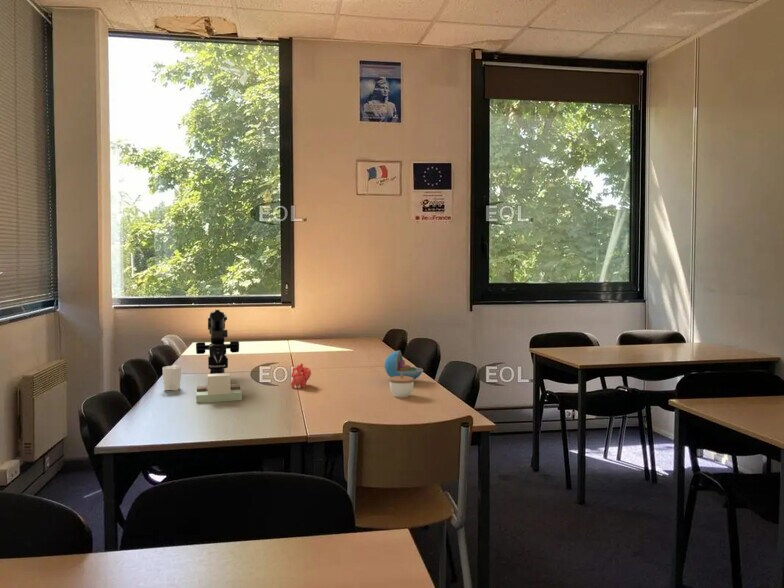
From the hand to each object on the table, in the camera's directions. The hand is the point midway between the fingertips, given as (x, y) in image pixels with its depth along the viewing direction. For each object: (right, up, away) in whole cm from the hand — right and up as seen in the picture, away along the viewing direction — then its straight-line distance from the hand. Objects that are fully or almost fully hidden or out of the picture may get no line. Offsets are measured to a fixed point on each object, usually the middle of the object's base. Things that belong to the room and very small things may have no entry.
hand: (218, 362), depth 268 cm
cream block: (+5, -11, -17) cm, 21 cm away
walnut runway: (+2, -13, -8) cm, 15 cm away
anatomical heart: (+35, -12, +11) cm, 39 cm away
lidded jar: (+81, -14, -7) cm, 83 cm away
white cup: (-21, -12, +2) cm, 25 cm away
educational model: (+83, -12, +24) cm, 87 cm away
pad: (+5, -13, -17) cm, 22 cm away
